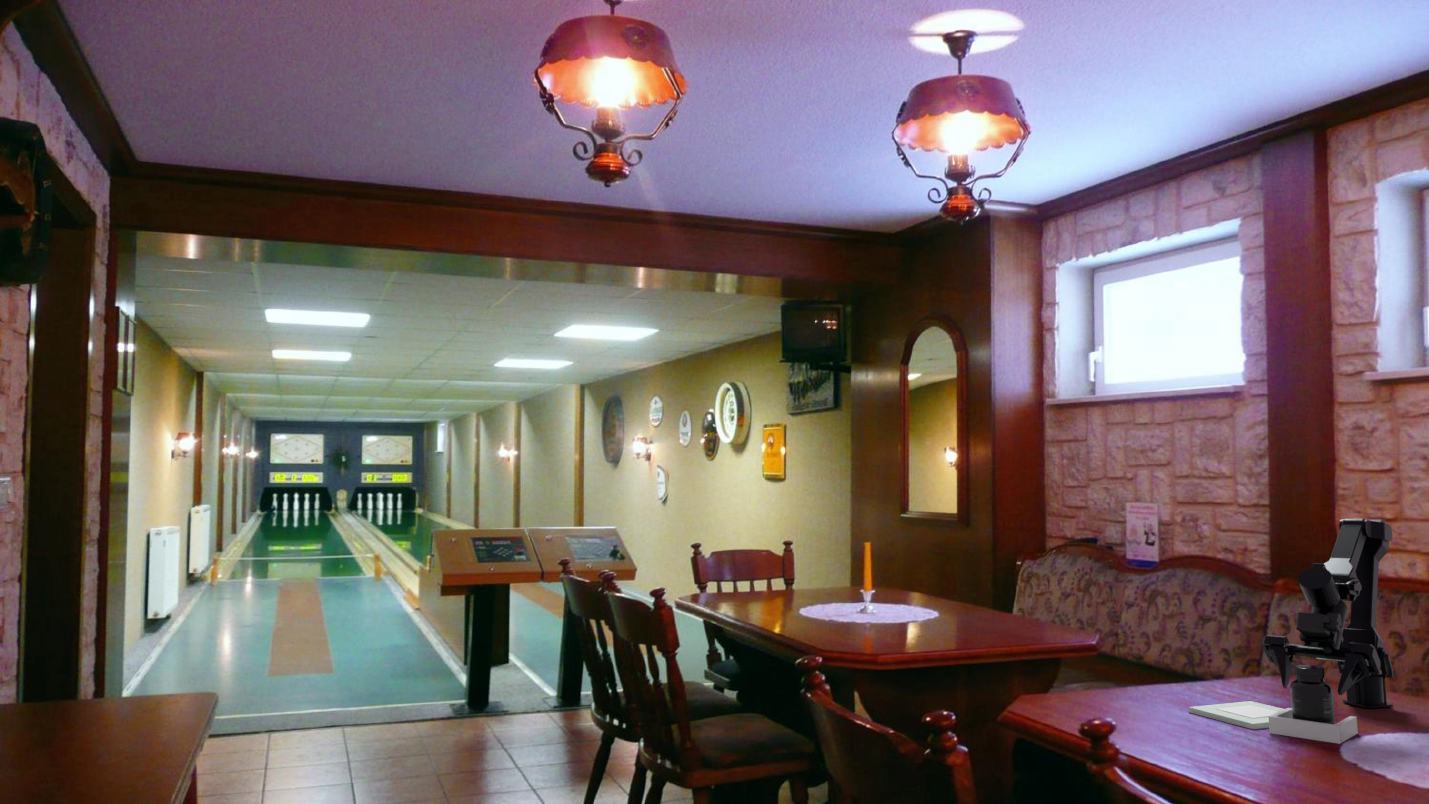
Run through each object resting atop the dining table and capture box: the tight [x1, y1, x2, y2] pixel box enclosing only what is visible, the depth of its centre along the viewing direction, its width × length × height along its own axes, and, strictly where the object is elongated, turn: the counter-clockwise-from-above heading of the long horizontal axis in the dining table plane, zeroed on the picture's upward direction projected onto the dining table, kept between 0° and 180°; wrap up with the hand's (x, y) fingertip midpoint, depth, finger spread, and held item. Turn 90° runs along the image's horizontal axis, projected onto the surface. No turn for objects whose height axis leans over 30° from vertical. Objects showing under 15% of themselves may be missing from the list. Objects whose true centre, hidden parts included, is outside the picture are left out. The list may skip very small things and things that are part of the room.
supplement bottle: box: [1289, 664, 1336, 724], centre depth 188 cm, size 7×7×12 cm
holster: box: [1268, 707, 1359, 745], centre depth 187 cm, size 10×12×3 cm
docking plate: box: [1188, 700, 1285, 730], centre depth 201 cm, size 16×16×1 cm
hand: (1311, 690), depth 188 cm, fingers open, 9 cm apart
